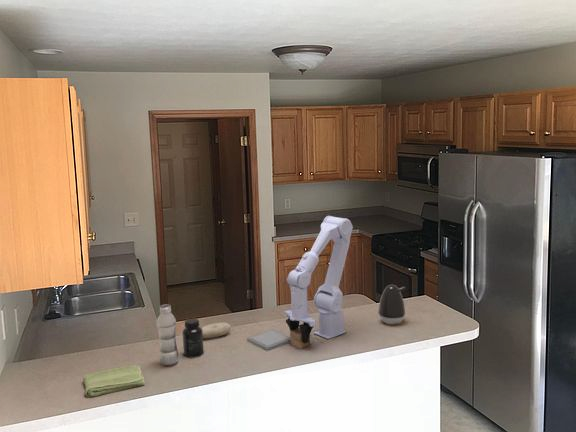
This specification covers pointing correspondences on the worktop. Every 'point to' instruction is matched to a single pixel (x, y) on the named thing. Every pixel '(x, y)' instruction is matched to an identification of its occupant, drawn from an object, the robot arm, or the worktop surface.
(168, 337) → the plastic bottle
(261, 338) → the grey framed panel
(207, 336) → the stone
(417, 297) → the worktop surface
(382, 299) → the pump dispenser
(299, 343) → the cube
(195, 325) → the supplement bottle
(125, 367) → the washcloth
